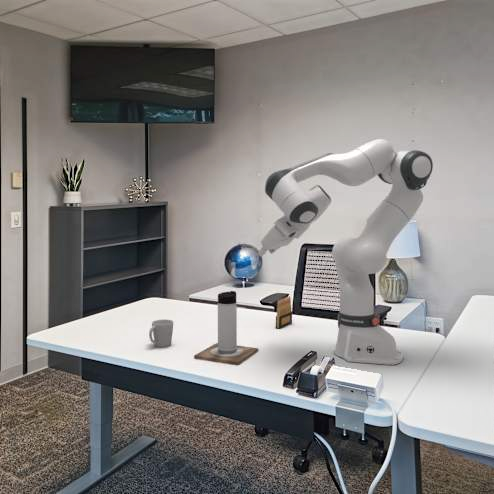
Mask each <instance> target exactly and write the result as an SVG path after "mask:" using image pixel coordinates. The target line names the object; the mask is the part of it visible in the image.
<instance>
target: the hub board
mask: <svg viewBox="0 0 494 494" xmlns="http://www.w3.org/2000/svg"><path fill="white" fill-rule="evenodd" d="M236 347H237V351H236V352H235V353H233V354H221V353H219V352H218V342H216V343H215V344H212V345H210V346H209V347H207V348H205V349H203V350H201V351H199V352H198V353H196V354H194V355H193V358H194V359H195V360H202V361H208V362H216V363H220V362H221V363H222V364H227V363H228V365H233V364H234V365H235V366H239V365H240V364H242V363H243V361H244V362H245V361H247V360H248V359H249V358H251V357H252V356H254V355H256V353H258V352H259V348H257V347H252V346H245V345H237V346H236Z"/></svg>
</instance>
